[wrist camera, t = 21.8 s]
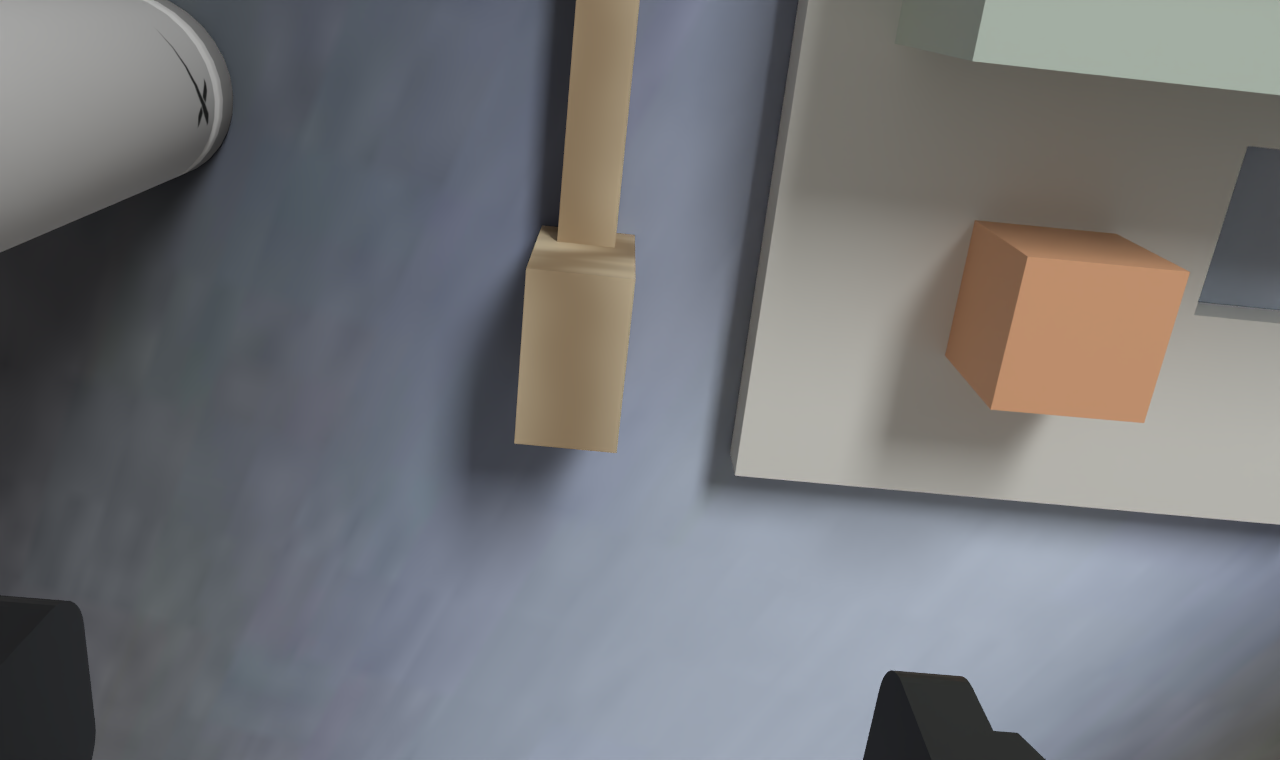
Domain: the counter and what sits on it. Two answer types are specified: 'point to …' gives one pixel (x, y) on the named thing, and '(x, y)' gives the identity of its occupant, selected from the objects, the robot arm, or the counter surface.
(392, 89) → the counter surface
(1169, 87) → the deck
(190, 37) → the travel mug
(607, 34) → the crook
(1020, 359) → the cube
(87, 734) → the robot arm
